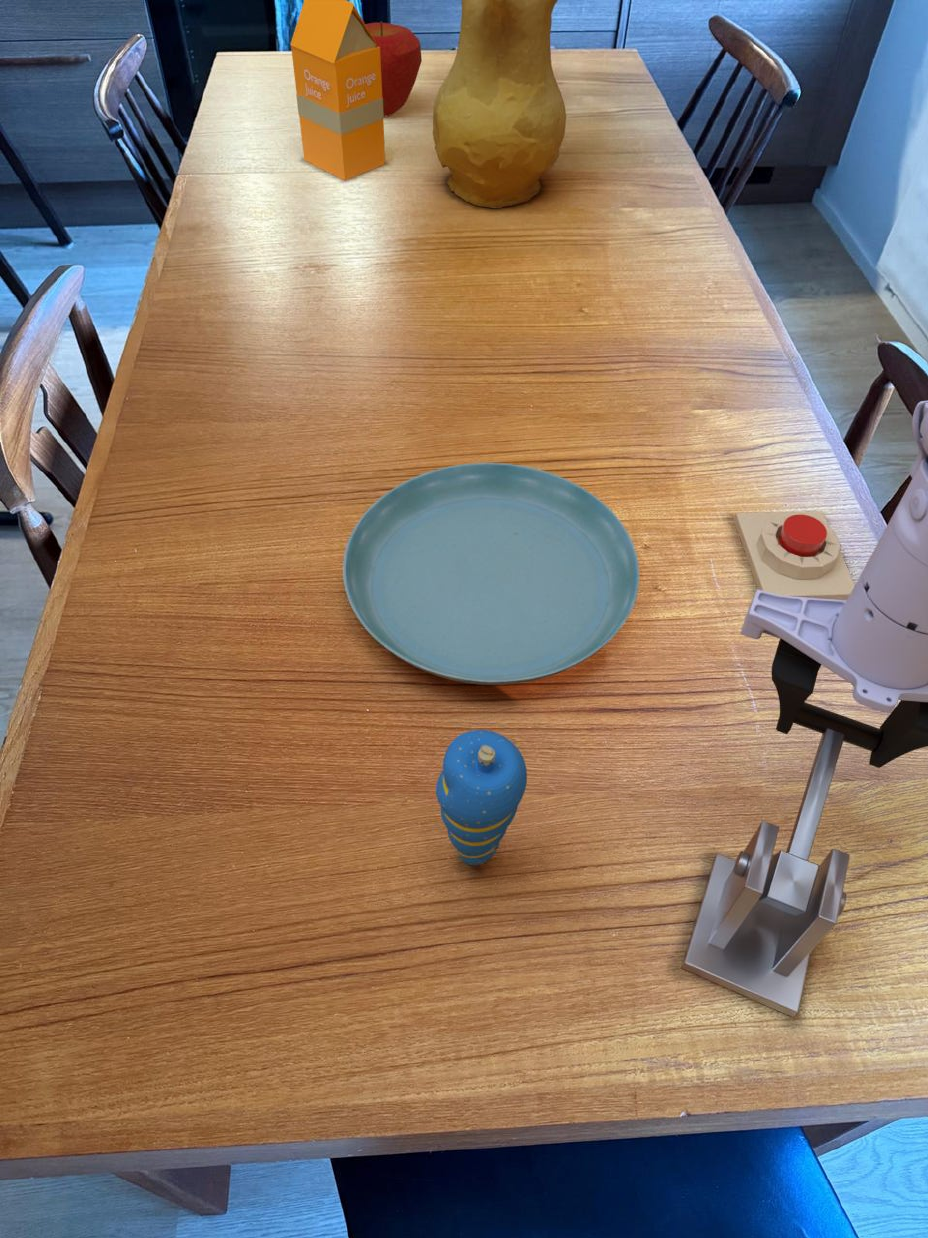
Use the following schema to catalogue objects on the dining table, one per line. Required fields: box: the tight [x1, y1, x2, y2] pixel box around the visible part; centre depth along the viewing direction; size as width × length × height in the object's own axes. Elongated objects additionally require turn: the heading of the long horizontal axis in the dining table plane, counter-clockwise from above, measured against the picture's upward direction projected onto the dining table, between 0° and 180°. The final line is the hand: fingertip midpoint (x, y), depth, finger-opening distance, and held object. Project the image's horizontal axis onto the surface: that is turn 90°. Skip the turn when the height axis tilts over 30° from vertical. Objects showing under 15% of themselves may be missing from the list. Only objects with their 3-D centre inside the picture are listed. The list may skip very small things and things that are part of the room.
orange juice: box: [289, 0, 386, 182], centre depth 118 cm, size 8×9×20 cm
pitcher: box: [432, 0, 567, 209], centre depth 113 cm, size 17×19×25 cm
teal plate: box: [342, 462, 640, 686], centre depth 74 cm, size 24×24×3 cm
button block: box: [733, 510, 856, 600], centre depth 77 cm, size 10×8×2 cm
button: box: [779, 514, 827, 557], centre depth 76 cm, size 4×4×2 cm
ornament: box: [435, 729, 528, 866], centre depth 54 cm, size 5×5×15 cm
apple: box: [365, 20, 423, 117], centre depth 132 cm, size 11×11×12 cm
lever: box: [759, 701, 883, 916], centre depth 53 cm, size 12×5×2 cm, turn 155°
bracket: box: [681, 820, 851, 1018], centre depth 54 cm, size 8×7×10 cm
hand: (829, 736), depth 55 cm, fingers closed on lever, 5 cm apart
